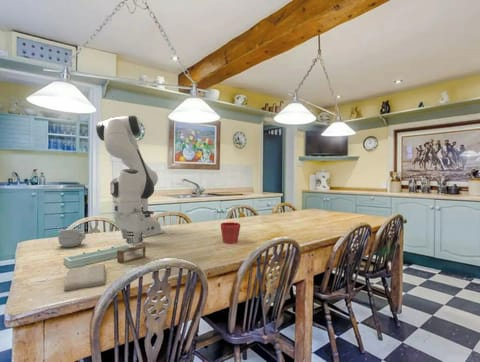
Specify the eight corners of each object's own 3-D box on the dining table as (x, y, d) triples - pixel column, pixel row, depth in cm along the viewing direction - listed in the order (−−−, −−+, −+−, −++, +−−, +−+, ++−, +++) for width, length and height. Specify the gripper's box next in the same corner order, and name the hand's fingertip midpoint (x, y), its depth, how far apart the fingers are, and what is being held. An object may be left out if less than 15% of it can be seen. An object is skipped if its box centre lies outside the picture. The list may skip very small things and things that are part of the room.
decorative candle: (131, 246, 137) (130, 196, 137) (121, 243, 143) (120, 195, 142) (147, 243, 145) (147, 195, 144) (137, 240, 150) (136, 194, 150)
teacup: (53, 247, 137) (53, 231, 137) (75, 242, 147) (75, 227, 146) (70, 250, 130) (70, 234, 130) (92, 245, 140) (92, 229, 140)
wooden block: (141, 256, 122) (141, 245, 122) (145, 257, 120) (145, 246, 120) (117, 262, 114) (117, 250, 114) (121, 264, 112) (120, 251, 112)
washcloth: (104, 269, 107) (104, 261, 107) (106, 286, 91) (106, 277, 91) (68, 274, 101) (68, 266, 101) (63, 293, 85) (63, 283, 85)
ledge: (127, 249, 132) (127, 243, 132) (136, 253, 127) (136, 246, 127) (63, 263, 112) (63, 256, 112) (70, 268, 106) (70, 260, 106)
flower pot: (241, 239, 153) (241, 222, 152) (239, 244, 142) (239, 225, 142) (222, 239, 154) (222, 221, 153) (218, 244, 143) (218, 225, 143)
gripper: (149, 209, 111) (149, 243, 111) (126, 205, 125) (126, 235, 125) (135, 210, 107) (134, 246, 107) (112, 206, 120) (112, 238, 120)
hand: (130, 240), depth 116 cm, fingers open, 8 cm apart
